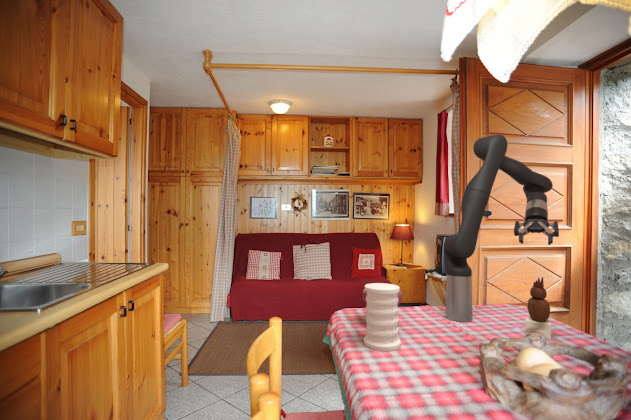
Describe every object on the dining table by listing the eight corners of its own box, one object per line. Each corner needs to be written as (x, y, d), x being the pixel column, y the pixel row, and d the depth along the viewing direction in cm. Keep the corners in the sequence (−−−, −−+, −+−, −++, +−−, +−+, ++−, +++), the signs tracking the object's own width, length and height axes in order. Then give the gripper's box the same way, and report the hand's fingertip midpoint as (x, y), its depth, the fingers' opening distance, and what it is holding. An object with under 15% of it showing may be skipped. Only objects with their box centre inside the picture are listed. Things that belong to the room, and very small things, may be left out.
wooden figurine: (553, 324, 106) (552, 278, 106) (533, 322, 107) (532, 277, 107) (543, 318, 112) (543, 274, 113) (525, 316, 114) (524, 274, 114)
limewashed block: (525, 335, 109) (525, 320, 109) (527, 330, 114) (526, 316, 114) (551, 340, 105) (550, 324, 105) (551, 335, 110) (551, 320, 110)
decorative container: (402, 339, 105) (402, 284, 105) (399, 353, 94) (399, 291, 95) (367, 335, 109) (367, 281, 109) (360, 348, 98) (360, 288, 98)
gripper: (514, 206, 132) (512, 235, 123) (558, 205, 124) (559, 236, 114) (516, 219, 137) (514, 248, 127) (558, 219, 128) (559, 250, 118)
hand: (535, 242), depth 121 cm, fingers open, 8 cm apart
